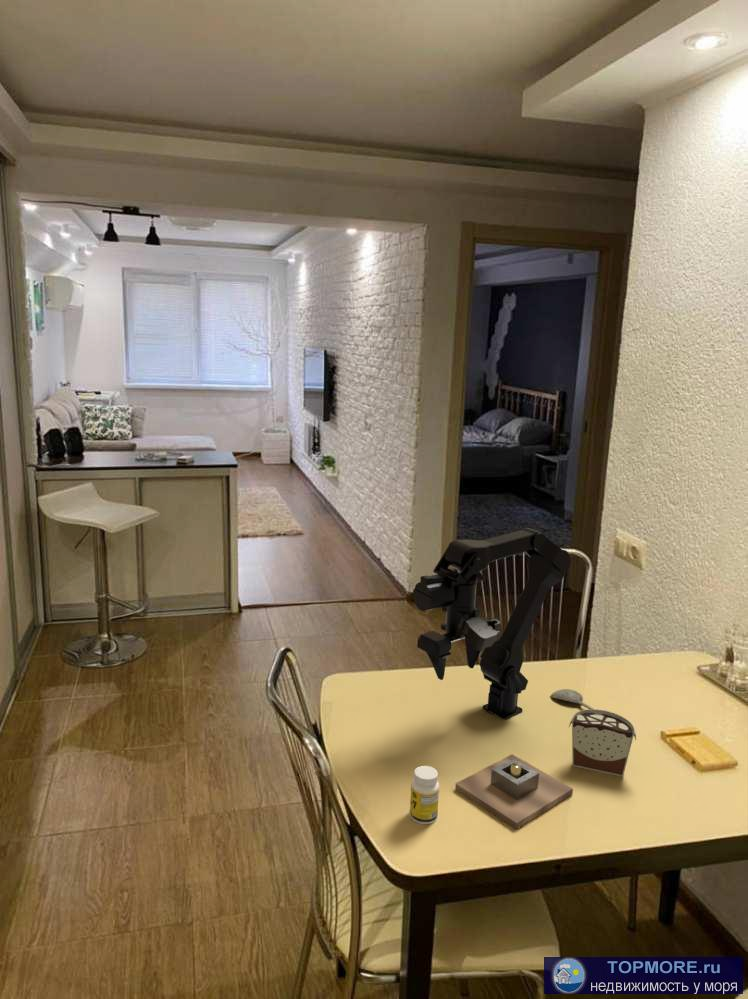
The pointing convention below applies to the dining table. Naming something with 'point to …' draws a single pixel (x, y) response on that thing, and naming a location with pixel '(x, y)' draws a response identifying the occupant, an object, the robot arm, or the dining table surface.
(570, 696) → the soupspoon
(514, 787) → the grey square ring
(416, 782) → the supplement bottle
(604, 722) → the slice of cake
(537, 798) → the keeper board
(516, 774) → the keeper peg
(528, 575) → the robot arm
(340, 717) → the dining table surface
